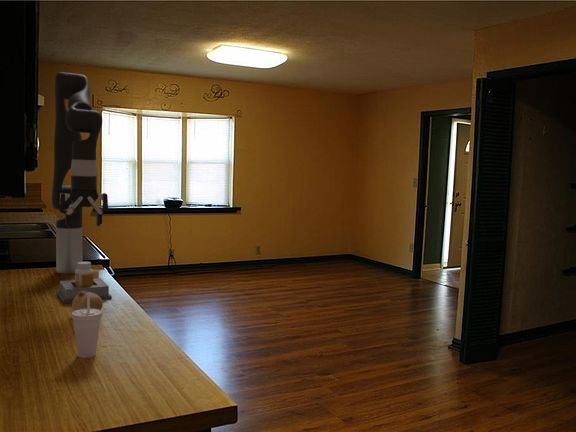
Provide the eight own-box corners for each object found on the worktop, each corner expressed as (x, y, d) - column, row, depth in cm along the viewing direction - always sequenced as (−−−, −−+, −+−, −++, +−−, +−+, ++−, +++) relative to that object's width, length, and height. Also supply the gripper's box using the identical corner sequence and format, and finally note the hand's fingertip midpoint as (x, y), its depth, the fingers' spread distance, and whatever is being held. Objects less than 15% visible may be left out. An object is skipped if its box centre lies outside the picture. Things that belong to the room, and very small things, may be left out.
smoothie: (83, 362, 112) (83, 298, 111) (64, 355, 115) (64, 293, 114) (108, 354, 117) (108, 292, 116) (89, 347, 121) (89, 288, 120)
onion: (85, 310, 152) (85, 285, 151) (108, 313, 149) (108, 288, 149) (65, 317, 144) (65, 291, 144) (89, 320, 142) (89, 295, 141)
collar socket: (56, 293, 169) (56, 281, 169) (102, 289, 177) (102, 277, 176) (63, 303, 157) (63, 290, 157) (111, 298, 165) (111, 286, 164)
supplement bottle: (96, 291, 169) (96, 261, 168) (88, 295, 164) (88, 264, 163) (80, 290, 170) (80, 260, 169) (71, 294, 165) (71, 263, 164)
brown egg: (75, 284, 183) (75, 270, 183) (96, 282, 187) (96, 268, 186) (79, 288, 177) (79, 273, 177) (100, 286, 181) (100, 272, 180)
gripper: (105, 174, 170) (104, 224, 172) (57, 173, 163) (57, 225, 164) (110, 175, 164) (110, 227, 165) (61, 174, 157) (61, 228, 158)
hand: (83, 226), depth 165 cm, fingers open, 8 cm apart
